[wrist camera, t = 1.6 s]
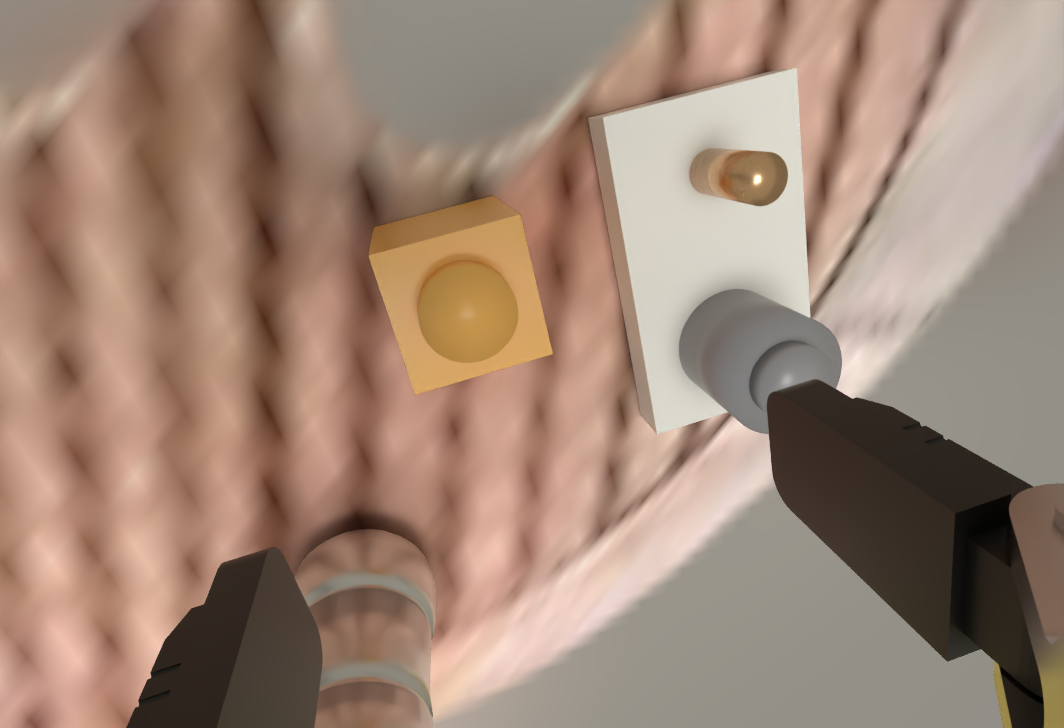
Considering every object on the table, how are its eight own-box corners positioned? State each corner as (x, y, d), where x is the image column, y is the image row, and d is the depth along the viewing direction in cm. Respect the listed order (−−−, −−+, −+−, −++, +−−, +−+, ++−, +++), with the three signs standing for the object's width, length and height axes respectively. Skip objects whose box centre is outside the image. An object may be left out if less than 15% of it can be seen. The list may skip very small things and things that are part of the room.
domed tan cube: (410, 340, 27) (416, 406, 21) (373, 227, 25) (366, 261, 19) (521, 308, 28) (559, 364, 21) (493, 195, 26) (526, 218, 19)
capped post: (686, 403, 29) (744, 458, 24) (672, 306, 27) (731, 345, 22) (781, 373, 29) (857, 422, 25) (774, 275, 27) (853, 307, 23)
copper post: (692, 199, 25) (742, 212, 22) (686, 154, 25) (737, 159, 21) (733, 188, 26) (789, 198, 22) (728, 143, 25) (786, 146, 21)
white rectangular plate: (641, 415, 31) (656, 434, 29) (587, 118, 25) (602, 117, 24) (789, 369, 32) (814, 385, 30) (768, 71, 26) (796, 67, 24)
